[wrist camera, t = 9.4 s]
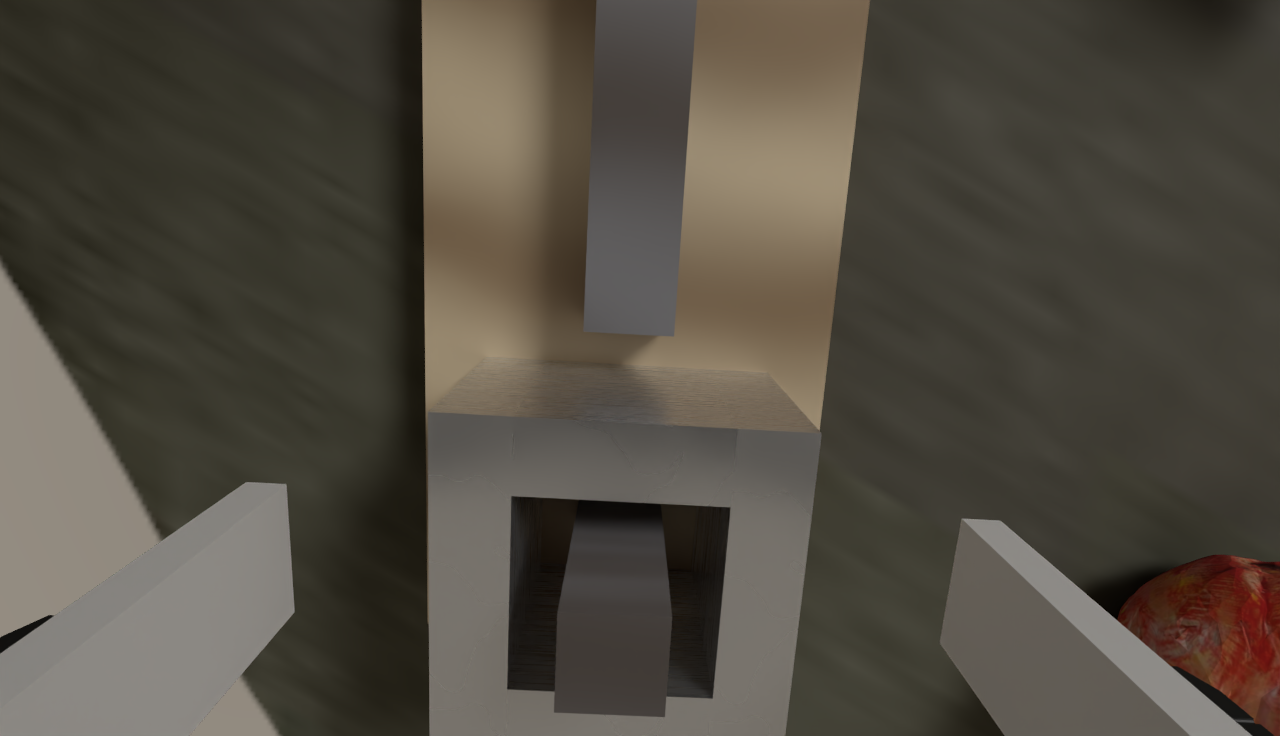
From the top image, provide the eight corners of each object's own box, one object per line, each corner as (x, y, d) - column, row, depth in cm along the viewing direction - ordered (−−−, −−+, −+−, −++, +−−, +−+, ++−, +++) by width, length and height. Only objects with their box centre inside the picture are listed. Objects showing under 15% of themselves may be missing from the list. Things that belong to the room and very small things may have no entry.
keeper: (439, -194, 16) (222, -660, 7) (869, -163, 16) (1128, -582, 8) (442, 593, 20) (306, 861, 12) (783, 609, 20) (889, 882, 12)
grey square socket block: (486, 357, 17) (427, 411, 12) (767, 372, 17) (821, 433, 12) (483, 611, 18) (429, 752, 13) (741, 623, 19) (780, 767, 14)
